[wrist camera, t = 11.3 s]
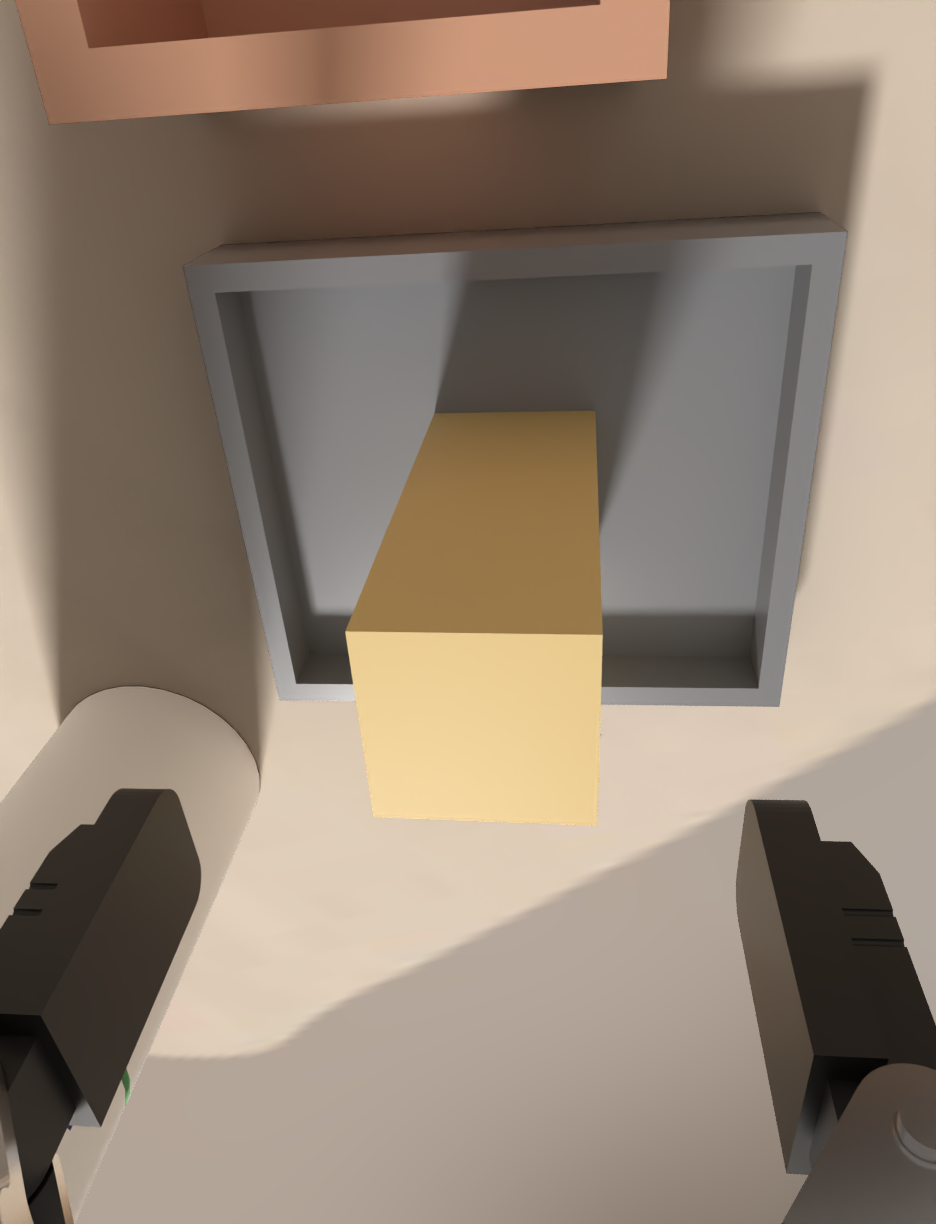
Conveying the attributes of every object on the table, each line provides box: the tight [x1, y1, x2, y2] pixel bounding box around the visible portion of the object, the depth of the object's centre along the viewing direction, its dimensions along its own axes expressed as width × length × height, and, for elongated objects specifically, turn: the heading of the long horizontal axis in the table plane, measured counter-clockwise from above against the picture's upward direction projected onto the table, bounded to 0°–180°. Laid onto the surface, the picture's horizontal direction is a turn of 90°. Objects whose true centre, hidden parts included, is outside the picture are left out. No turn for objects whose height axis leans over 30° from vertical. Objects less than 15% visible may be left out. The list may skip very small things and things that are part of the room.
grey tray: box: [183, 212, 848, 707], centre depth 23 cm, size 14×12×2 cm
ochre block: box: [345, 411, 603, 826], centre depth 19 cm, size 4×4×10 cm
